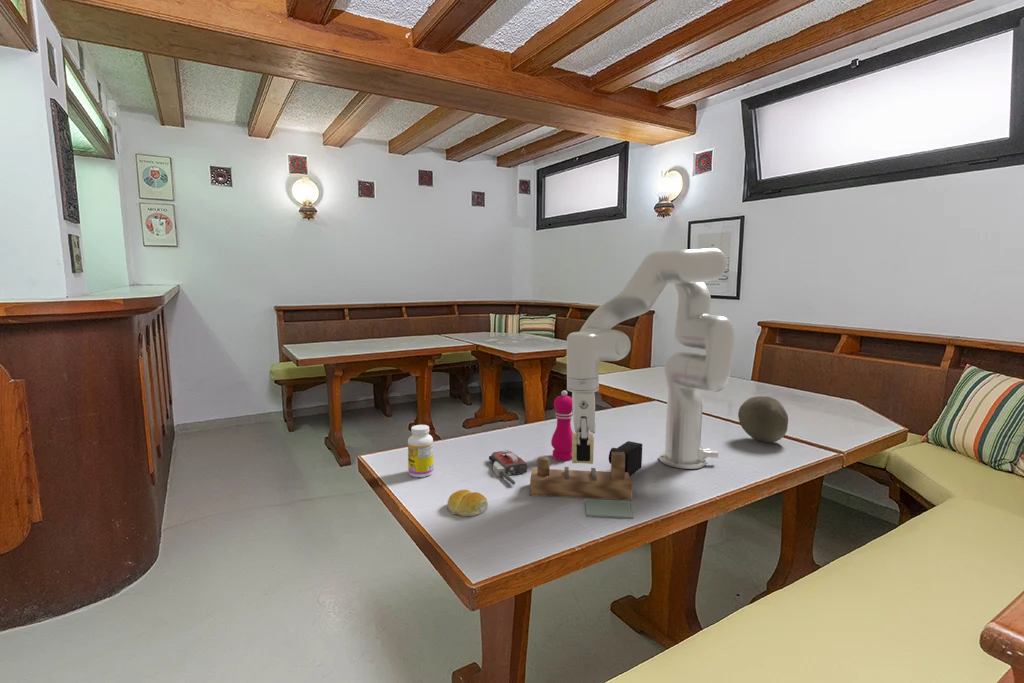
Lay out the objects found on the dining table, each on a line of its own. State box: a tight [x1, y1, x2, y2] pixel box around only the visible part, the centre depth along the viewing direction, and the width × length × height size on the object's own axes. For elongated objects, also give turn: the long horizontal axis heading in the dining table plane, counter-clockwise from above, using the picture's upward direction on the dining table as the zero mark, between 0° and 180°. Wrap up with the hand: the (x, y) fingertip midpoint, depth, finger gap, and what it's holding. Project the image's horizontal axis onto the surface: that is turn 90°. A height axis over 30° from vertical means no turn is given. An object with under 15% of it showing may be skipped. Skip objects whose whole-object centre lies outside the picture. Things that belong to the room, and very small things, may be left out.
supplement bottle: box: [407, 424, 434, 478], centre depth 131 cm, size 7×7×13 cm
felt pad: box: [584, 498, 634, 520], centre depth 111 cm, size 10×8×1 cm
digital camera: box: [608, 440, 643, 477], centre depth 133 cm, size 10×5×7 cm, turn 144°
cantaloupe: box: [737, 395, 789, 444], centre depth 158 cm, size 14×14×15 cm
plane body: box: [529, 452, 633, 501], centre depth 120 cm, size 24×7×10 cm, turn 84°
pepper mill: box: [550, 390, 574, 461], centre depth 143 cm, size 7×7×20 cm
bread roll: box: [447, 489, 489, 517], centre depth 111 cm, size 8×9×4 cm
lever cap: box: [571, 432, 595, 465], centre depth 119 cm, size 5×4×7 cm
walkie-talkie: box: [488, 449, 528, 485], centre depth 133 cm, size 9×4×20 cm
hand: (582, 456), depth 120 cm, fingers closed on lever cap, 4 cm apart
